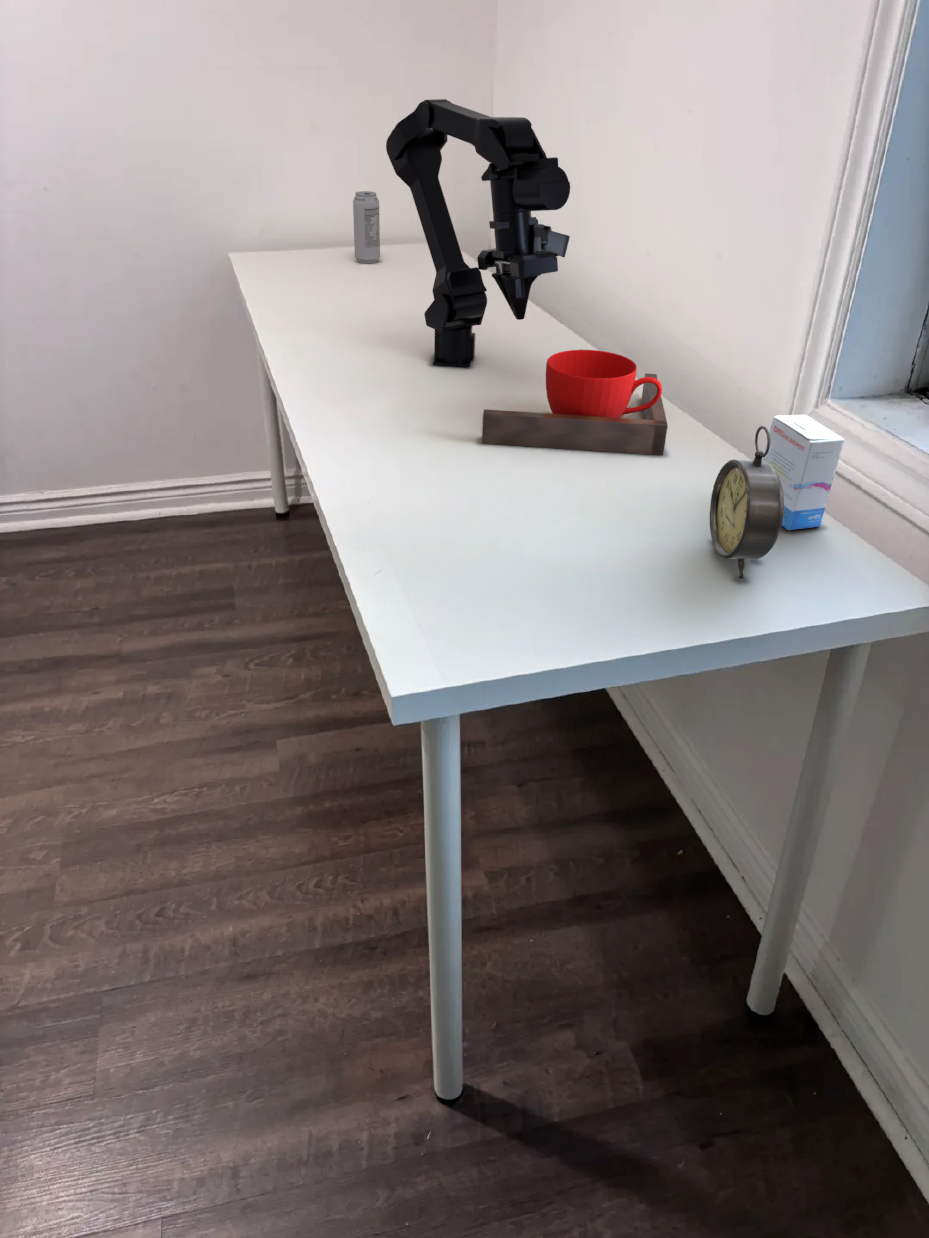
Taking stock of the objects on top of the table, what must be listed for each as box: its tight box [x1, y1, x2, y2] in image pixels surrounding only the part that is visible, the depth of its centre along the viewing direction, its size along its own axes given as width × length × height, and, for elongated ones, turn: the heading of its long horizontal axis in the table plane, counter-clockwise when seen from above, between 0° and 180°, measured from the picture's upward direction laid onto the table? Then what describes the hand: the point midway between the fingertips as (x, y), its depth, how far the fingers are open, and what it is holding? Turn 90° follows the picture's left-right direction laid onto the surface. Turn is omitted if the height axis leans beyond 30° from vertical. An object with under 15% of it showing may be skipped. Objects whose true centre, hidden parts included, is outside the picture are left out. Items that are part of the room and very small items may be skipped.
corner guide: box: [481, 372, 668, 456], centre depth 143 cm, size 26×22×4 cm
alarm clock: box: [709, 425, 784, 580], centre depth 105 cm, size 11×5×16 cm, turn 5°
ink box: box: [762, 414, 845, 531], centre depth 116 cm, size 9×5×12 cm, turn 17°
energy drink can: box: [352, 190, 381, 264], centre depth 222 cm, size 6×6×15 cm
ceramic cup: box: [545, 349, 663, 418], centre depth 138 cm, size 13×17×10 cm
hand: (520, 319), depth 149 cm, fingers closed
